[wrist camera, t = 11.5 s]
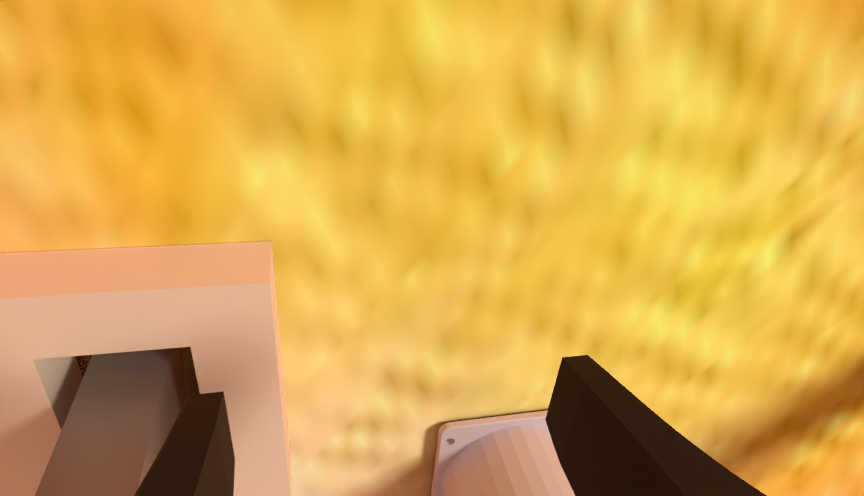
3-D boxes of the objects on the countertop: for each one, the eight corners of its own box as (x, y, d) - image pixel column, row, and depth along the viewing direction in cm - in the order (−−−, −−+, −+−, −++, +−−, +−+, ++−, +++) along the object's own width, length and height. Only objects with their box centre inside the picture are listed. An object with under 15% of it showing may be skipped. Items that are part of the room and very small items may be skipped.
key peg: (176, 330, 21) (133, 505, 15) (196, 423, 24) (166, 602, 18) (99, 336, 20) (24, 520, 15) (129, 431, 23) (76, 618, 17)
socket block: (290, 458, 26) (290, 507, 24) (50, 489, 24) (28, 546, 22) (271, 240, 20) (269, 282, 18) (-59, 255, 18) (-104, 305, 16)
